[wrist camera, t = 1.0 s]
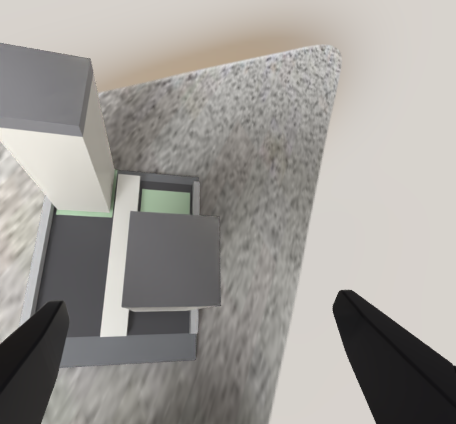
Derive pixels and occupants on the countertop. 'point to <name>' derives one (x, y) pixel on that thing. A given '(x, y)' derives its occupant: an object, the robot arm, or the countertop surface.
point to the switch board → (109, 276)
